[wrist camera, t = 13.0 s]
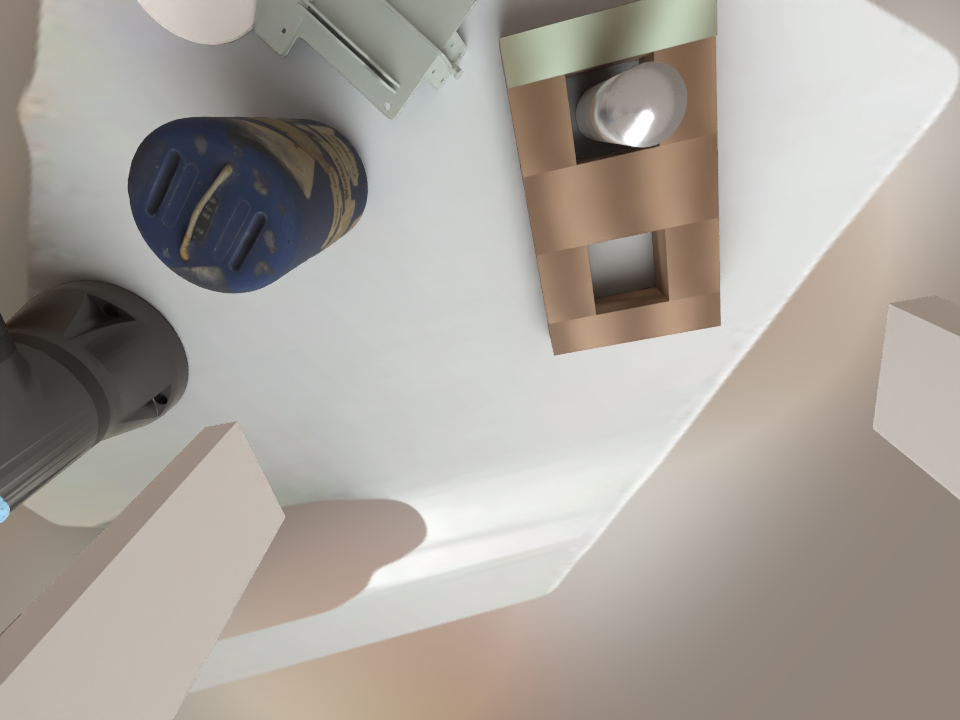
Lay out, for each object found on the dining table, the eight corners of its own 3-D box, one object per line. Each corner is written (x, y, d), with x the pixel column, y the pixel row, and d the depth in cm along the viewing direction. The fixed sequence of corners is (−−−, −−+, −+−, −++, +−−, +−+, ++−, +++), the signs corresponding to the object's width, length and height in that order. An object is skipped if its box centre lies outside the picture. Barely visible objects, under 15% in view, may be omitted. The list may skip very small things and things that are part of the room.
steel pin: (579, 146, 40) (613, 155, 27) (572, 90, 38) (604, 72, 25) (630, 134, 39) (689, 137, 26) (625, 77, 37) (685, 51, 25)
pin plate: (550, 337, 47) (554, 356, 43) (499, 47, 37) (499, 38, 33) (703, 309, 45) (722, 326, 41) (692, -4, 35) (716, -20, 31)
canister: (395, 192, 42) (326, 235, 26) (318, 260, 45) (211, 337, 28) (314, 91, 39) (177, 67, 23) (236, 170, 42) (64, 200, 25)
